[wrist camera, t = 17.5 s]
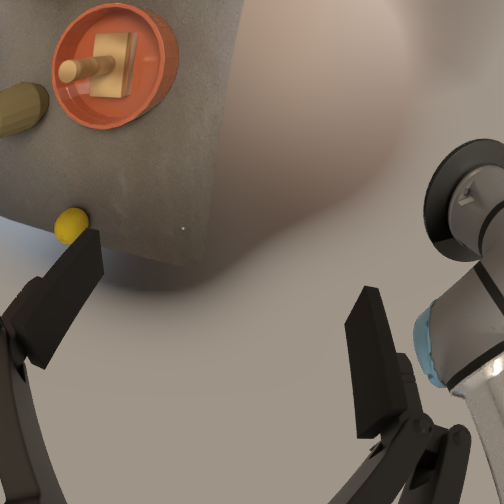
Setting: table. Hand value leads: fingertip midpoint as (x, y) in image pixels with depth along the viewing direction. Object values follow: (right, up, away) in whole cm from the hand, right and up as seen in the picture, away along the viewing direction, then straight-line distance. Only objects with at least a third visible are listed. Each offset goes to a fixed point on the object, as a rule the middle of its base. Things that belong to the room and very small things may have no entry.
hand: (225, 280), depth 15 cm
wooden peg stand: (-17, +27, +20) cm, 38 cm away
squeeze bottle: (-34, +26, +24) cm, 49 cm away
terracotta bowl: (-17, +27, +21) cm, 38 cm away
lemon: (-28, +8, +35) cm, 46 cm away
